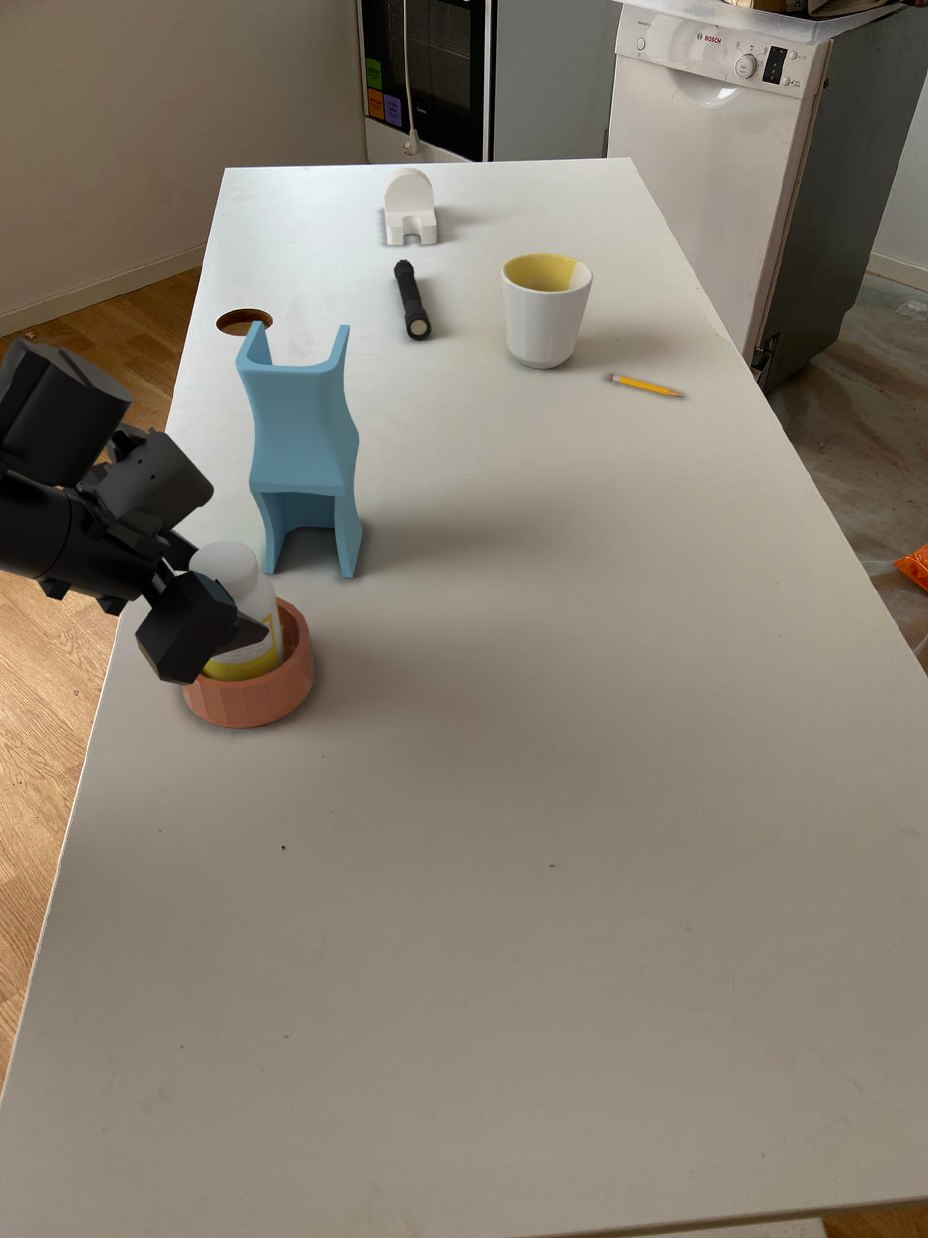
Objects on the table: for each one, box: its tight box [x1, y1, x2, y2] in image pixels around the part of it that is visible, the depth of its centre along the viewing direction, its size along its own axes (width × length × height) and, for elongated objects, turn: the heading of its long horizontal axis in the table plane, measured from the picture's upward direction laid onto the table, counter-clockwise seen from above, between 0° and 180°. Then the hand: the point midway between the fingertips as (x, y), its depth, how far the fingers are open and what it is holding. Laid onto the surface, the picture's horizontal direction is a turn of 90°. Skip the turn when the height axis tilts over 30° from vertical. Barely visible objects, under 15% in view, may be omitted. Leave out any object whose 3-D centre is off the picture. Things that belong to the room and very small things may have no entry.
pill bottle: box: [189, 540, 286, 682], centre depth 72 cm, size 6×6×12 cm
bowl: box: [180, 596, 315, 729], centre depth 75 cm, size 10×10×4 cm
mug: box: [500, 252, 594, 370], centre depth 112 cm, size 14×10×10 cm
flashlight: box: [393, 258, 432, 342], centre depth 122 cm, size 3×16×3 cm, turn 9°
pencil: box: [609, 373, 683, 397], centre depth 109 cm, size 1×8×1 cm, turn 63°
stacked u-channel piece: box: [234, 320, 363, 579], centre depth 81 cm, size 8×8×20 cm
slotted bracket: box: [383, 167, 438, 246], centre depth 139 cm, size 13×7×8 cm, turn 6°
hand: (236, 598), depth 71 cm, fingers open, 9 cm apart
